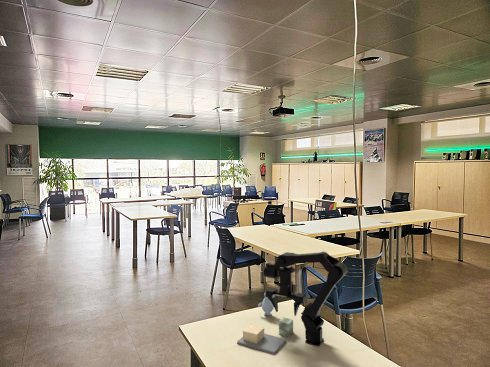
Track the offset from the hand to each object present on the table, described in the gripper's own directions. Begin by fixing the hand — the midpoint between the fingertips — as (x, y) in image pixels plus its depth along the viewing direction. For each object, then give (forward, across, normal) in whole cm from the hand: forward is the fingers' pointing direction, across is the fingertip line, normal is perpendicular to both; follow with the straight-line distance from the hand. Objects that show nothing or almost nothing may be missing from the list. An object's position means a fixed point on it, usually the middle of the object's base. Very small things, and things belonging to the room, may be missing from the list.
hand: (286, 313), depth 156 cm
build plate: (+9, +6, +13) cm, 17 cm away
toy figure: (+9, +16, -13) cm, 23 cm away
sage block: (+9, 0, 0) cm, 9 cm away
